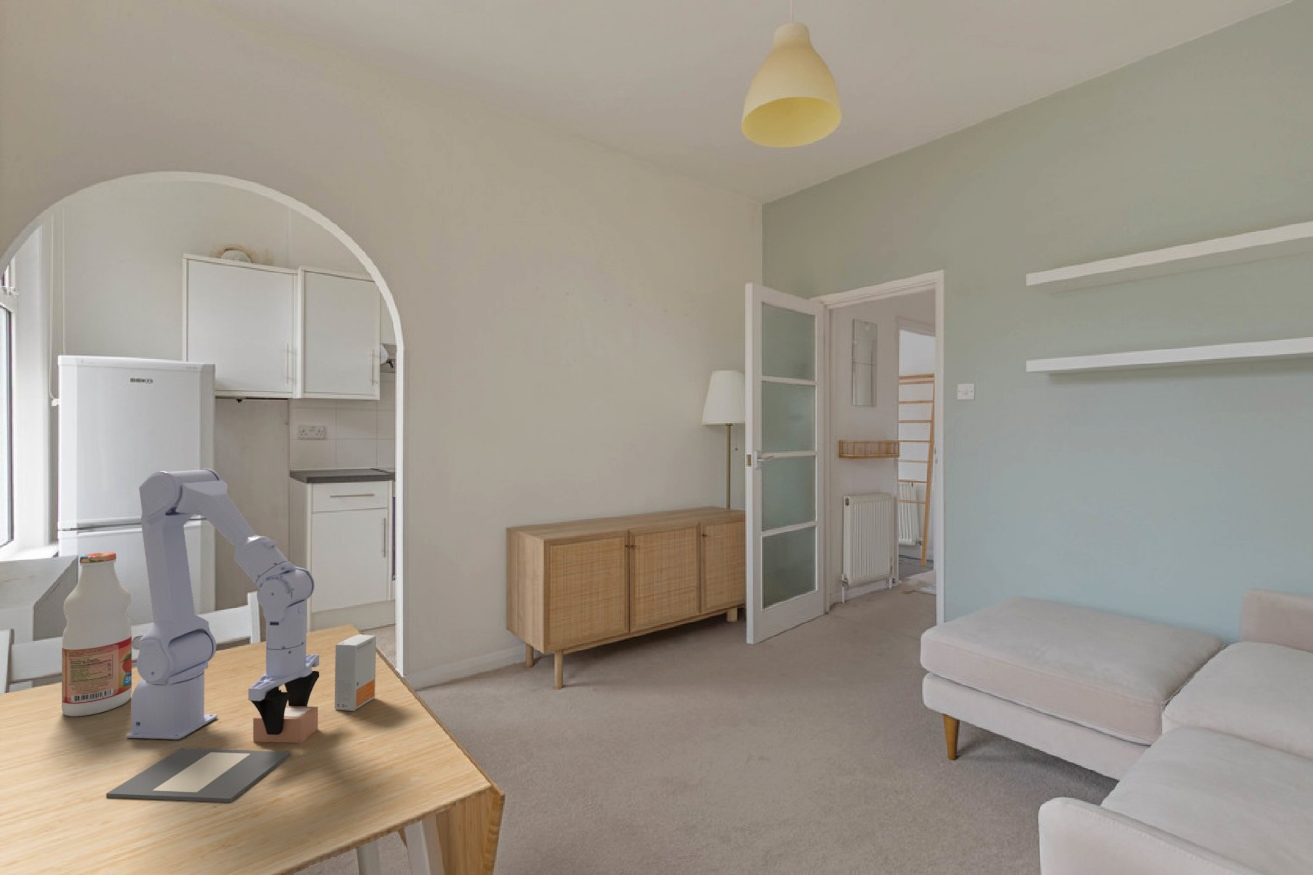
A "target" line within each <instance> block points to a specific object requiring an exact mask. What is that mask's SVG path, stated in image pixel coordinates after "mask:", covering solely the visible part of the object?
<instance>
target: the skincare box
mask: <svg viewBox="0 0 1313 875" xmlns="http://www.w3.org/2000/svg"><path fill="white" fill-rule="evenodd" d="M376 646H377V635H373V634H372V635H370V634H361V633H359V634H356V635H355V634H354V635H353V636H350V637H348V638H346V639H345V640H343V641H341V642H338V643H336V644H335V655H334V656H335V657H334V658H335V660H334V661H335V662H334V663H335V665H334V667H335V668H334V672H335V673H334V710H338V711H339V710H341V711H349V712H354V711H356V710H357V709H359V708H361V707H362V706H364V705H366V704H367V703H369V702H370V701H373V700H374V699H375V698H376V672H377V671H376V670H377V669H376V663H377V658H376V657H377V655H376V654H377V647H376Z"/></svg>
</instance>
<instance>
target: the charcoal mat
mask: <svg viewBox="0 0 1313 875" xmlns="http://www.w3.org/2000/svg"><path fill="white" fill-rule="evenodd" d="M291 753H292V752H291V751H281V750H280V751H278V750H277V751H276V750H273V751H272V750H253V749H252V750H247V749H246V750H245V749H244V750H242V749H221V748H219V749H218V748H217V749H216V748H191V747H189V748H187V747H180V748H179V749H177V750H176V751H174V752H172V753H171V754H169V755H166V757H164V758H162V759H160V760H159V761H157V762H156V763H154V764H153V765H151V766H149V767H148V768H145V769H144V770H142V771H141V772H139V773H138V774H136V775H134V776H133V777H131V778H130V779H128V780H126V781H125V782H123V783H122V784H119V785H118V786H117V787H115V788H112V789H111V790H110V791H108V792H106V795H105V797H106V798H117V799H118V798H119V799H120V798H121V799H139V800H140V799H142V800H143V799H144V800H145V799H146V800H165V801H167V800H168V801H169V800H171V801H187V802H189V801H191V802H192V801H194V802H216V803H232V802H233V801H234V800H235V799H236V798H238V797H239V796H241V795H242V794H243V793H245V792H246V791H247V790H248V789H250V788H251V787H252V786H253V785H255V784H256V783H257V782H259V781H260V780H261V779H263V777H264V776H267V774H269V773H270V772H272V770H274V769H275V768H276V767H278V765H280V764H281V763H283V761H285V760H287V759H288V758H290V756H291Z"/></svg>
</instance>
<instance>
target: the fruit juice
mask: <svg viewBox="0 0 1313 875" xmlns="http://www.w3.org/2000/svg"><path fill="white" fill-rule="evenodd" d="M116 561H117V554H116V553H115V552H114V551H113V552H109V551H107V552H95V553H93V552H92V553H87V554H83V555H80V556H79V563H80V564H79V566H81V573H80V576H79V578H78V582H77V583H76V585H75V587H74V588H73V590H72V591H71V592H70V593H69V594H68V595H67V597H66V598H65V599H64V602H63V609H62V611H63V614H64V616H65V620H66V626H65V628H64V629H63V633H62V640H61V710H62V713H63V715H65V716H68V717H84V716H91V715H96V714H101V713H104V712H107V711H111V710H113V709H116V708H118V707H120V706H123V705H124V704H126V703H127V702H129V701H130V699H131V698H132V694H133V692H132V689H133V688H132V685H133V683H132V681H133V680H132V679H133V678H132V677H133V676H132V675H133V673H132V670H133V668H132V662H133V658H132V657H133V654H132V653H133V650H132V649H133V644H132V643H133V628H132V627H133V626H132V620H131V618H130V617H129V615H128V614H129V612H128V611H129V609H130V605H131V603H132V602H131V601H132V596H131V592H130V590H129V589H128V588H127V587H126V586H125V585H124V584H122V583H121V581H120V579H119V578H118V575H117V573H116V570H115V563H116Z"/></svg>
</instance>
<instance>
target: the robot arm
mask: <svg viewBox="0 0 1313 875" xmlns="http://www.w3.org/2000/svg"><path fill="white" fill-rule="evenodd" d="M228 489H229V485H228V483H226V482H225V481H224V480H223V479H222V477H221V476H220V474H219V473H218V472H217V471H216V470H214V469H211V468H200V469H194V470H192V469H191V470H178V471H177V470H176V471H167V470H166V471H165V470H164V471H162V470H161V471H156V472H153V473H151V474H150V475H149V476H148V477H147V479H146V480H144V482H143V483H142V484H141V485H140V486H139V488H138V491H139V496H140V497H139V499H140V506H141V512H142V513H141V518H140V522H141V524H140V525H141V532H142V539H143V540H142V541H143V546H144V548H143V549H144V555H145V563H146V570H147V580H148V586H149V594H150V603H151V608H152V616H153V624H152V625H151V626H150V628H149V629H148V630H147V631H146V632H145V633H144V634H143V635H142V637H141V638H139V640H138V646H139V647H138V648H139V653H138V656H137V659H136V669H137V672H138V675H139V677H141V680H140V681H139V682H138V683H137V684H136V686H135V688H134V689H133V692H132V693H131V704H130V705H131V709H130V710H131V711H130V712H131V717H130V718H131V723H130V726H131V727H130V728H131V730H130V732H129V733H127V734H126V738H129V739H130V738H131V739H155V740H158V739H160V740H180V739H183V738H185V737H186V736H188V735H190V734H191V733H193V732H195V731H196V730H198V729H200V728H202V727H204V726H205V725H207V724H209V723H210V722H212V721H214V720H215V719H217V718H218V714H215V713H205V670H206V669H208V667H209V662H210V661H211V660H212V659H213V658H214V656H215V654H216V653H217V652H216V651H217V641H216V639H215V637H214V635H213V634H212V631H211V629H210V625H209V624H210V623H209V621H208V620H207V619H205V618H203V617H201V616H198V615H197V614H196V613H195V605H194V604H195V603H194V598H193V589H192V582H191V573H190V566H189V559H188V549H187V542H186V535H185V528H184V526H185V525H186V523H188V521H189V520H191V518H192V517H193V516H194V515H195V516H196V515H197V516H202V517H204V518H205V519H206V520H207V521H208V522H209V523H210V524H211V525H212V526H213V527H214V528H215V529H216V530H217V532H219V533H220V534H221V535H222V537H224V538H225V539H226V540H227V541H228V542H229V543H230V544H231V545H232V546H233V547H234V549H235V550H234V555H233V559H234V561H235V562H236V563H237V564H238V566H239V567H240V568H241V569H242V570H243V572H245V574H246V575H247V576H248V577H249V579H250V580H251V581H252V582H253V583H254V584H255V586H256V587H257V588H258V589H259V591H258V592H256V599H257V602H258V604H259V605H260V606H261V608H262V610H263V618H264V619H265V622H266V623H265V624H266V625H265V639H266V640H265V672H264V673H263V675H262V676H260V678H259V679H258V680H257V681H256V682H255V683H254V684H253V685H251V686H249V687H248V690H247V692H248V701H249V702H251V703H252V704H253V705H254V706H255V708H256V709H257V711H258V712H259V714H260V715H261V717H262V720H263V723H264V726H265V729H266V732H267V735H279V734H281V733H282V730H283V724H284V713H285V708H286V706H307V707H308V704H309V702H310V701H309V700H310V696H311V694H312V691H313V689H314V687H315V684H316V682H317V681H318V679H319V678H320V671H319V670H313V669H312V668H317V667H319V666H320V654H317V653H316V654H315V653H314V654H311V653H310V654H307V600H308V599H309V598H310V597H311V596H312V594H313V593H314V591H315V580H314V578H313V576H312V575H311V572H310V570H308V569H307V568H304V567H298V566H297V565H295V564H292V562H290V561H289V559H288V558H286V556H285V555H284V553H283V552H282V551H281V550H280V549H279V548H278V547H277V544H278V543H276V541H275V540H274V539H273V538H272V539H270V538H269V536H266V535H265V536H264V535H262V536H261V535H257V534H256V533H255V531H254V530H253V529H252V527H251V525H250V524H249V523H248V521H247V520H246V519H245V517H244V516H243V515H242V513H241V512H240V511H239V509H238V507H237V506H236V505H235V503H234V502H233V500H232V499H231V497H229V495H228ZM283 685H284V687H285V691H282V689H280V687H281V686H283ZM287 704H288V705H287Z"/></svg>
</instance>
